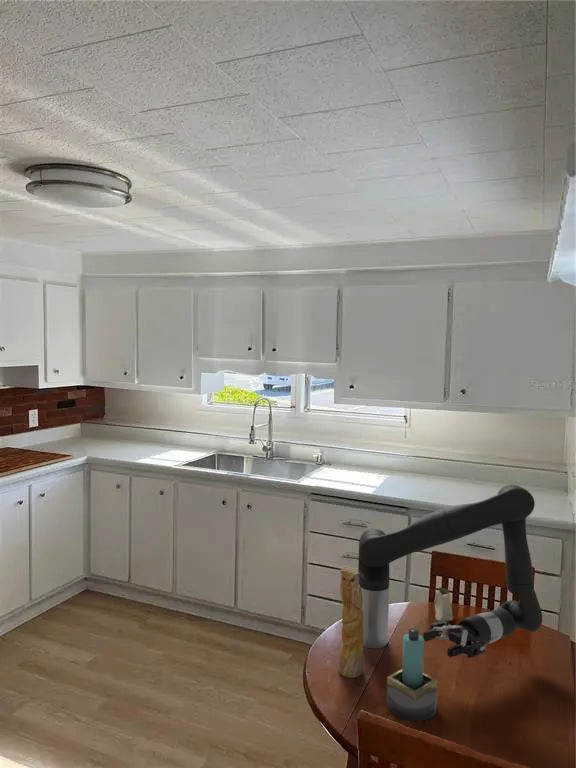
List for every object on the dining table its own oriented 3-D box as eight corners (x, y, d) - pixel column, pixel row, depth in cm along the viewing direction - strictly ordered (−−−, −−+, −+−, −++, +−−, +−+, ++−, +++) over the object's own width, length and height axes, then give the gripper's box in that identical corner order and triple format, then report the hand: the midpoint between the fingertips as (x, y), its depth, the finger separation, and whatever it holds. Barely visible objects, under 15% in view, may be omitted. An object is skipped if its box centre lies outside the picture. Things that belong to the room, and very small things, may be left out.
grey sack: (453, 628, 186) (466, 601, 185) (433, 621, 185) (446, 594, 184) (441, 612, 195) (454, 586, 194) (422, 606, 193) (435, 580, 192)
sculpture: (333, 681, 152) (336, 570, 150) (341, 663, 161) (344, 558, 159) (358, 686, 150) (361, 574, 148) (365, 667, 159) (368, 561, 157)
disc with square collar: (376, 702, 144) (377, 676, 143) (407, 684, 151) (407, 659, 151) (416, 727, 135) (416, 699, 134) (446, 707, 142) (447, 680, 142)
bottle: (397, 684, 143) (399, 629, 142) (410, 677, 146) (411, 623, 145) (413, 694, 139) (415, 637, 138) (426, 686, 142) (428, 631, 141)
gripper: (461, 605, 160) (416, 618, 152) (503, 627, 148) (457, 643, 139) (460, 631, 160) (415, 646, 152) (502, 655, 148) (456, 673, 140)
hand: (436, 644), depth 146 cm, fingers open, 8 cm apart
